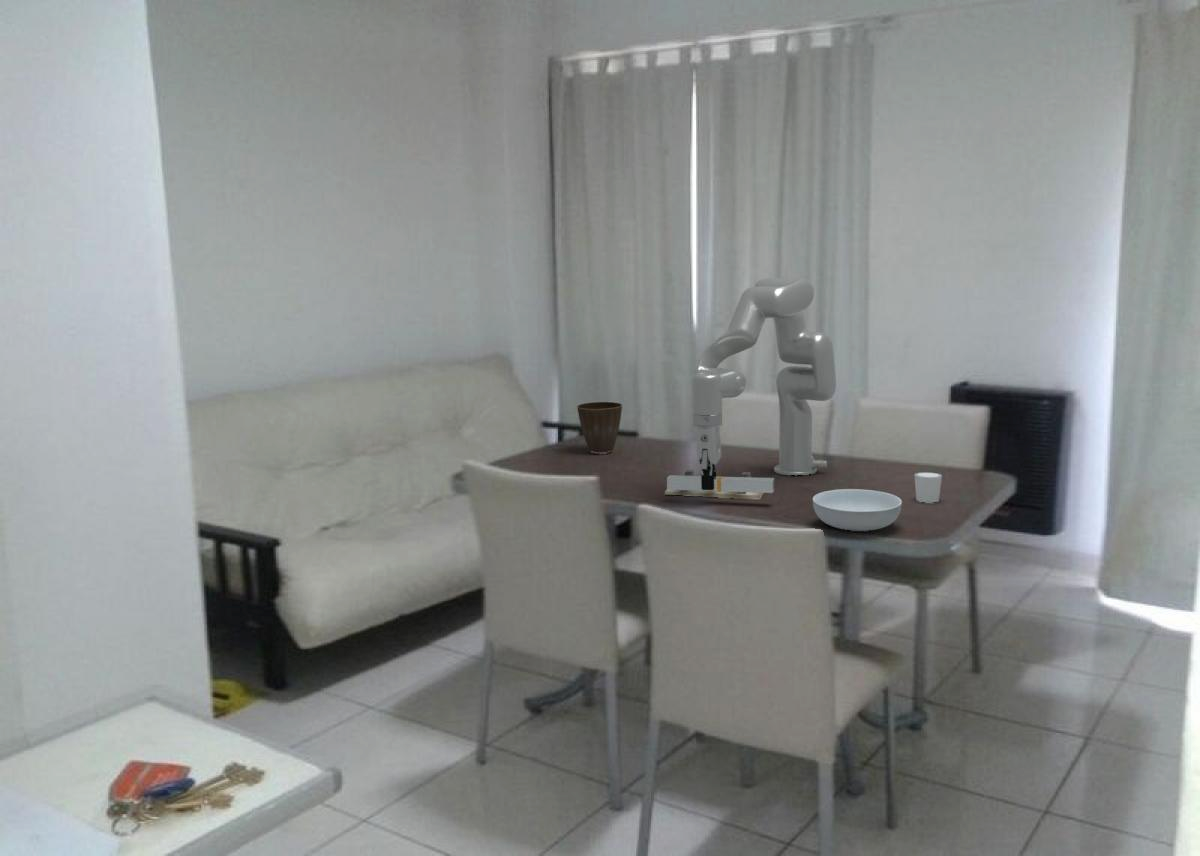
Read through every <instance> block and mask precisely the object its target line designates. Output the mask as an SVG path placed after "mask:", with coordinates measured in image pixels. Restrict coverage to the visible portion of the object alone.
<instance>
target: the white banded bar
mask: <svg viewBox="0 0 1200 856" xmlns="http://www.w3.org/2000/svg"><path fill="white" fill-rule="evenodd" d="M666 490H691V491H717V492H721V491H724V492H756V493H763V494H764V493H765V494H766V493H767V494H773V493H774V492H775V477H752V476H750V477H742V476H722V475H721V476H720V475H719V476H716V477H714V489H713V490H702V488H701V475H694V476H685V475H683V476H682V475H676V474H674V475H673V474H672V475H670V474H669V475H668V476H667V477H666Z"/></svg>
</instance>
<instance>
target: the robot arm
mask: <svg viewBox="0 0 1200 856" xmlns="http://www.w3.org/2000/svg"><path fill="white" fill-rule="evenodd" d="M814 296H815V290H814V285H812V283H811V281H809V280H808V279H806V278H799V277H798V278H794V277H793V278H786V277H785V278H784V277H783V278H782V277H781V278H780V277H771V278H770V277H769V278H763V279H759V280H758V281H757V282H755V285H754V286H751V287H747V288H746V289H745V290H743V292H742V294H741V295H740V297H739V300H738V303H737V305H736V308H735V310H734V313H733V315H732V318H731V320H730V323H729V325H728V328H727V330H726V331H725V332H724V333H723V334H722V335H720V336H719V337H718V338H717V339H715V340H714V341H713V342H712V343H711V344H710V345H708V347H707V348H706V349H705V350H704V351H703V352H702V354H701V356H700V358H699V361H698V362H697V365H696V368H695V371H694V373H693V376H692V422H693V425H692V426H693V427H695V428H697V431H696V433H697V434H696V449H697V450H696V454H697V456H696V457H697V463H698V464H699V465H701V466H700V467H701V470H700V471H701V475H700V476H701V488H702V490H713V489H714V477H717V471H716V470H717V468H716V467H717V464H718V463H719V462H720V460H721V458H722V443H721V429H720V427H722V426H723V410H722V409H723V407H722V406H723V405H722V404H723V399H726V398H728V399H729V398H730V399H731V398H737V397H739V396H740V395H742V393H743V392H745V389H746V384H747V380H746V377H745V375H744V374H743V373H742V372H741V371H739V370H737V369H731V368H722V367H719V366H720V364H721V363H723V361H725V360H726V359H728V358H729V357H731V356H733V355H736V354H738V353H741V352H743V351H745V350H748V349H750V348H752V347H754V346H755V345H756V344H757V342H758V338H759V336H760V334H761V330H762V329H763V326H764V324H765V321H766V320H767V319H770V318H771V319H773V321H774V322H773V323H774V327H775V328H774V329H775V337H776V345H777V346H776V347H777V352H778V356H779V359H780V360H781V361H782V362H784V363H786V364H792V366H791V365H790V366H787V367H783V368H781V370H780V371H779V372H778V373H777V375H776V380H775V385H776V392H777V397H778V407H779V439H778V440H779V443H778V444H779V445H778V446H779V447H778V448H779V450H778V451H779V454H778V455H779V457H778V459H779V462H778V463H779V464H777V465H774V467H773V472H774V473H775V474H779V475H783V476H791V475H795V476H796V477H797V475H803V476H810V475H809V474H811V475H813V474H816V473H817V470H818V468H827V467H828V461H827V460H824V459H815V458H814V455H812V454H813V453H812V451H813V450H812V448H813V447H812V445H813V444H812V443H813V413H812V409H811V407H810V404H809V403H808V401H818V402H819V401H820V402H824V401H825V402H826V401H828V400H829V401H830V400H831V399H832V398H833V397H834V395H835V393H836V389H837V388H836V387H837V379H836V367H835V365H836V364H835V356H834V346H833V342H832V340H831V338H830V337H829V336H828V335H827V334H825V333H824V332H821V331H809V330H807V328H806V324H805V315H804V312H803V311H804V310H806V309H807V308H809V306H811V304H812V302H813V300H814ZM793 364H794V365H793ZM795 364H796V366H795ZM797 365H806V366H797ZM807 365H810V366H811V367H809V366H807ZM807 400H808V401H807Z"/></svg>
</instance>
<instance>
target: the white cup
mask: <svg viewBox="0 0 1200 856" xmlns="http://www.w3.org/2000/svg"><path fill="white" fill-rule="evenodd" d="M942 479H943V476H942V474H940V473H937V472H926V471H924V472H923V471H922V472H916V473H914V485H915V486H914V487H915V500H917V501H916V502H918V501H919V502H918V503H921V502H925V503H924V504H934V503H933V502H937V503H939V500H940V495H941V494H940V493H941V487H942V486H941V485H942Z"/></svg>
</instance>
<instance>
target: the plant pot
mask: <svg viewBox="0 0 1200 856" xmlns="http://www.w3.org/2000/svg"><path fill="white" fill-rule="evenodd" d="M576 409H577V413H578V419H579V422H580V428H581V431H582V434H583V437H584V440H585V443H586V445H587V446H586V447H587V448H588V451H589V450H590V451H594V452H608V451H612V450H613V451H614V448H615V444H616V441H617V438H618V434H619V430H620V423H621V418H622V410H623V404H622V403H620V402H611V401H610V402H609V401H594V402H586V403H580V404H579V405H576ZM590 451H589V452H590ZM613 451H612V452H613Z"/></svg>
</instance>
